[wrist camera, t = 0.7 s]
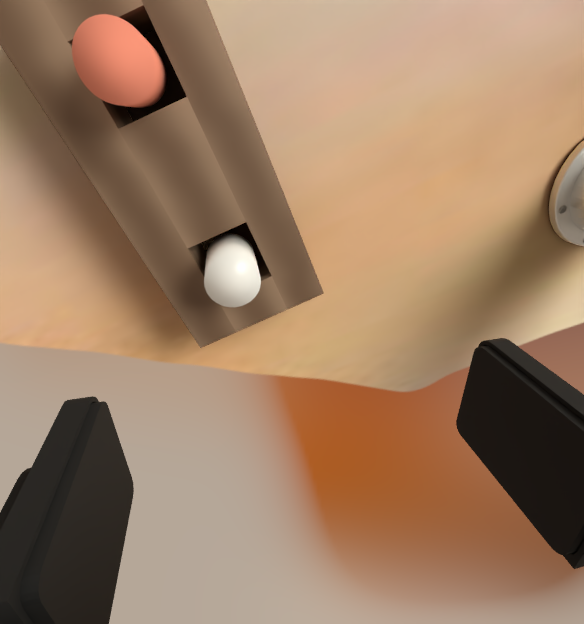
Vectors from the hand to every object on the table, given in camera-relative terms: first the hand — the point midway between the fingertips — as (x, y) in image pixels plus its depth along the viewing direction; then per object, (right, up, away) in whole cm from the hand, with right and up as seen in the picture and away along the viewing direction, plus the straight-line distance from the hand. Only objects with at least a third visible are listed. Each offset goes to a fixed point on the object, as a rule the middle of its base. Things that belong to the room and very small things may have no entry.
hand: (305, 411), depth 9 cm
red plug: (-11, +18, +15) cm, 26 cm away
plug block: (-9, +15, +22) cm, 28 cm away
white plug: (-5, +7, +22) cm, 24 cm away
